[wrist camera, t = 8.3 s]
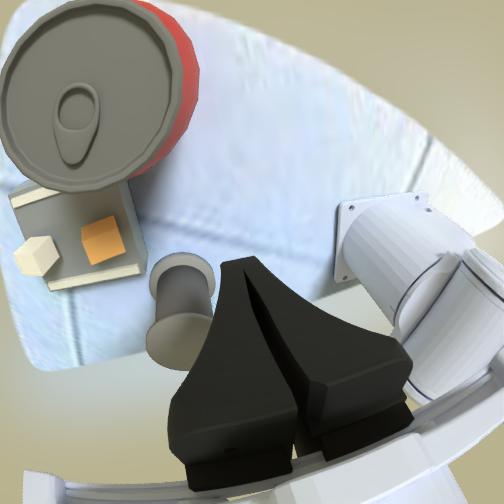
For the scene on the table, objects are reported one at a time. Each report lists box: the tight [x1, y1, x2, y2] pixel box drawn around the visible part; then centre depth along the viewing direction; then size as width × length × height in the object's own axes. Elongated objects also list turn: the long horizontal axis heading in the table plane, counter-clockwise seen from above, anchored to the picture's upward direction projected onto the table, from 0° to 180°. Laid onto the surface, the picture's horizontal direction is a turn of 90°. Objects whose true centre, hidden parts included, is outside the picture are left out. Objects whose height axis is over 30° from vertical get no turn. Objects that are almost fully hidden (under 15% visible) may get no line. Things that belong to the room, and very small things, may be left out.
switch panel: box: [8, 179, 148, 292], centre depth 18 cm, size 8×8×3 cm
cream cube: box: [13, 236, 59, 276], centre depth 16 cm, size 2×2×2 cm
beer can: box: [0, 0, 200, 195], centre depth 11 cm, size 7×7×12 cm
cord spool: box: [146, 252, 216, 371], centre depth 21 cm, size 5×5×7 cm
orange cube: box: [81, 215, 126, 265], centre depth 16 cm, size 2×2×2 cm
